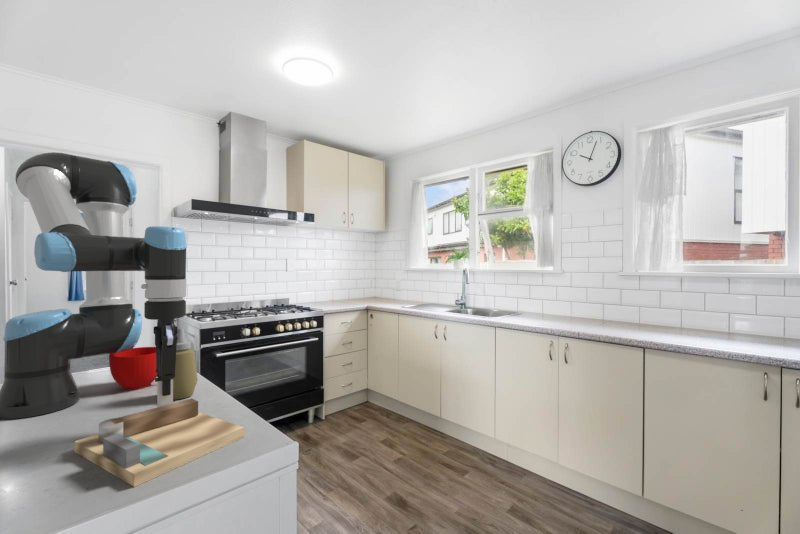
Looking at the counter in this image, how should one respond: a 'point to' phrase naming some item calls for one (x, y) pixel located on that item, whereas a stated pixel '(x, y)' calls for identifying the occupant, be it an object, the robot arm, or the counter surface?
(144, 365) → the ceramic cup
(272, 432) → the counter surface
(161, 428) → the wooden flat board
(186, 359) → the squeeze bottle
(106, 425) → the hinged leg
